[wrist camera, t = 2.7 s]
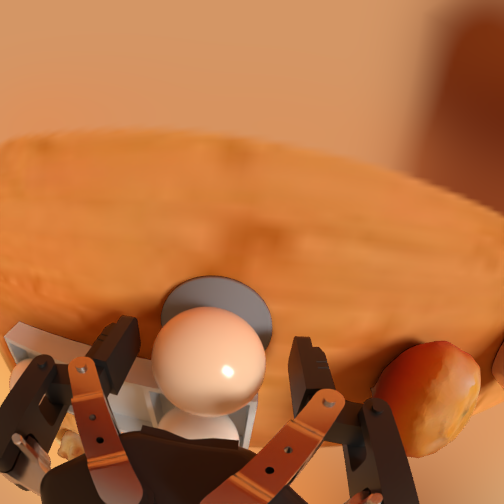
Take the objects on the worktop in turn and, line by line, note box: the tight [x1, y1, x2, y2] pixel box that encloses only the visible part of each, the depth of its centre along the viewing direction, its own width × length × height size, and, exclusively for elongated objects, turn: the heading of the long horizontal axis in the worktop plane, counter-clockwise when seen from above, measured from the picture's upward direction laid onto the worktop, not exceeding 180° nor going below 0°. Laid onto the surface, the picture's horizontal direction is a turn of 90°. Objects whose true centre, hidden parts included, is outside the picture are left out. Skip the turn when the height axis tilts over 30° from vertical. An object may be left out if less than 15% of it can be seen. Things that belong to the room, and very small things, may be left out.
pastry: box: [58, 430, 85, 461], centre depth 21 cm, size 9×7×4 cm
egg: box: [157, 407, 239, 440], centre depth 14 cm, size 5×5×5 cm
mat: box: [161, 276, 272, 351], centre depth 14 cm, size 6×6×1 cm
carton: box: [4, 322, 258, 449], centre depth 16 cm, size 19×7×2 cm, turn 84°
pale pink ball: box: [151, 307, 266, 417], centre depth 12 cm, size 5×5×5 cm
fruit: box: [370, 341, 481, 458], centre depth 13 cm, size 8×8×8 cm
